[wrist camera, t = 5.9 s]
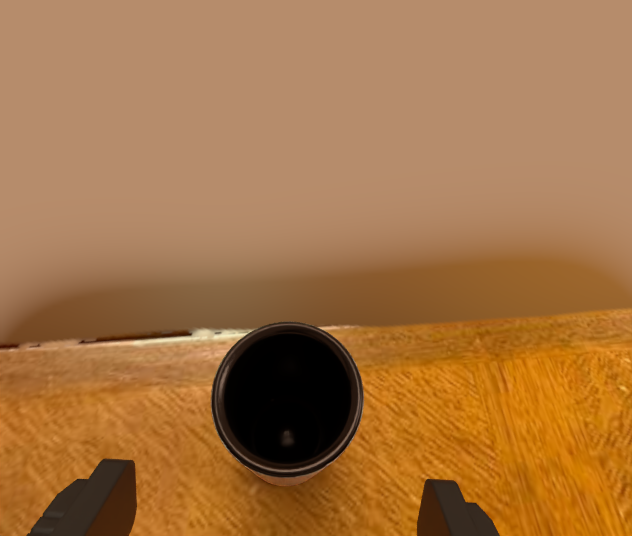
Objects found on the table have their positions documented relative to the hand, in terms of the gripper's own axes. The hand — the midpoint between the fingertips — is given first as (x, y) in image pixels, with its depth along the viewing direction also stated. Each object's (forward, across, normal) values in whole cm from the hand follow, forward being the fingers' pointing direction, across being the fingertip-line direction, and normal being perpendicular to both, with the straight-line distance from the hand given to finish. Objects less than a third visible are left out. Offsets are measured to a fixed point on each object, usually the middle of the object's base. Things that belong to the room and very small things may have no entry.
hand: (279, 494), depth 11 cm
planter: (+9, 0, +5) cm, 10 cm away
